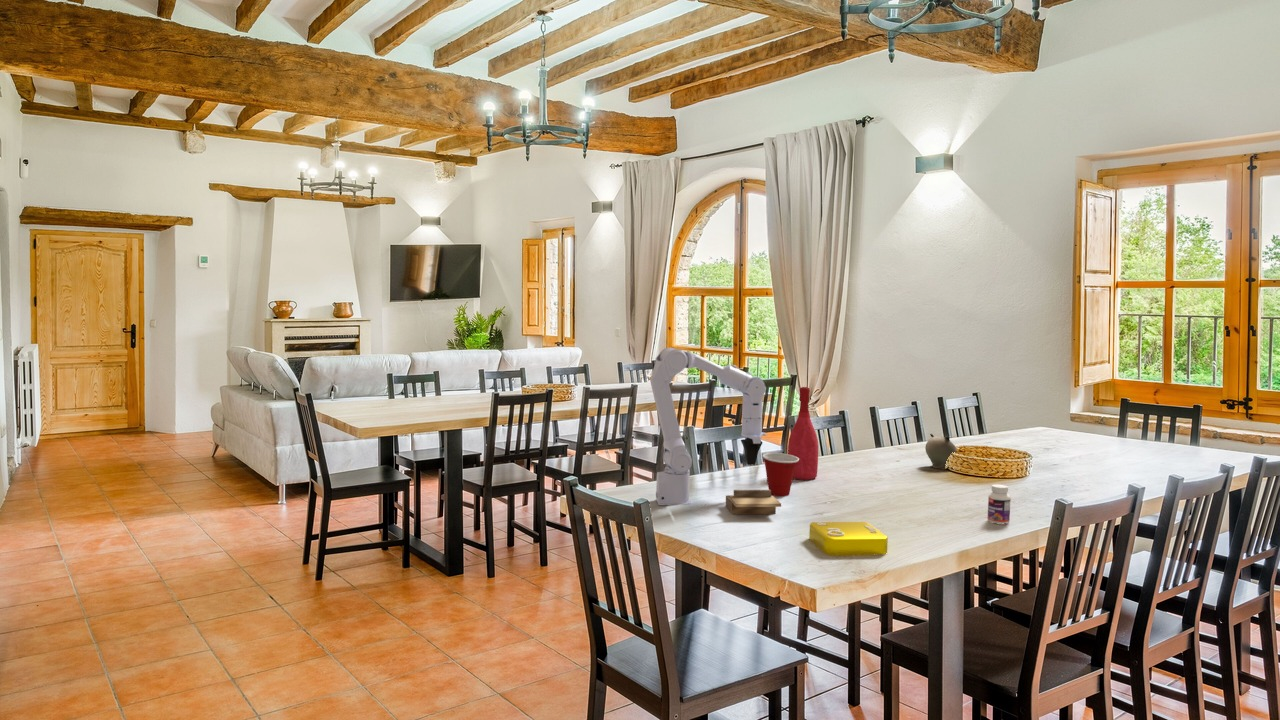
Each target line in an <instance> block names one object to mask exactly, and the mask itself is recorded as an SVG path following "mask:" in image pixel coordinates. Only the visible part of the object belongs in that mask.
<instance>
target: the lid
mask: <svg viewBox="0 0 1280 720" xmlns="http://www.w3.org/2000/svg"><path fill="white" fill-rule="evenodd" d="M733 495H734V496H730V500H731V501H732V503H733V504H734V505H735V506H736V507H776V508H781V507H782V503H781V502H780V501H779V499H777V498H776V497H775V496H773V495H771V490H769V489H733Z"/></svg>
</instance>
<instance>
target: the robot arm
mask: <svg viewBox="0 0 1280 720" xmlns="http://www.w3.org/2000/svg"><path fill="white" fill-rule="evenodd" d="M693 368H695V369H697V370H701V371H703V372H705V373H708V374H710V375H713V376H714V377H715V376H716V377H717V378H718V381H719V383H720V384H722V385H724V386H726V387H729V388H730V389H733V390H735V391H737V392H740V393H741V394H742V408H741V409H742V412H741V417H742V418H741V423H742V424H741V434H740V436H742V437H745V438H744V439H743V438H742V439H740V442H741V444H742V447H743V450H744V454H745V459H746V464H747V465H748V466H755V465H756V462H757V458H758V454H759V451H760V449H761V447H762V445H763V441H762V439H761V438H762V437H765V436H766V435H767V433H766V432H764V431H763V396H764V395H765V393H766V391H767V387H766V384H765V382H764V380H763V379H762V378H760V377H758V376H753V375H752V373H751V372H749V371H747V372H745V371H744V370H742V369H739V368H738V366H737V365H735V364H731V365H730V364H727V365H725V366H721V365H719V364H717V363H715V362H713V361H711V360H709V359H706V358H705V357H703V356H701V355H699V354H696V353H693V352H689V351H685V350H682V349H678V348H674V347H669V346H668V347H665V348H663V349H661V351H660V352H659V354H658V355H657V356H656V357H655V363H654V366H653V370H652V373H651V377H650V381H649V382H650V386H651V389H652V394H653V398H654V401H655V402H654V403H655V407H656V412H657V415H658V420H659V424H660V428H661V429H660V430H661V433H662V438H663V445H662V446H663V454H662V460H663V462H664V464H665V467H664V470H663V471H657V472H656V489H655V490H656V491H655V500H656V502H657V504H658V506H669V505H692V504H693V502H692V501H691V499H690V475H691V474H690V469H691V466H692V465H693V460H692V456H691V455H690V453H689V452H688V451H687V447H686V444H685V442H684V440H683V438H682V435H681V431H680V425H679V422H678V417H677V413H676V408H675V405H674V400H673V396H672V391H671V388H670V384H671V383H672V381H673V380H674V378H675V377H676V375H678V374H679V373H681V372H682V371H683V370H685V369H689V370H690V369H693ZM762 431H763V432H762Z"/></svg>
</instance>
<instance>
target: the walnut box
mask: <svg viewBox="0 0 1280 720" xmlns="http://www.w3.org/2000/svg"><path fill="white" fill-rule="evenodd" d="M730 496H734V494H731V495H730V494H729V495H728V494H727V495H725V507H726V509H727V510H728V511H729V513H730V514H731V515H776V514H777V512H776V511H777V510H776V509H777V507H736V506H735V505H734V504H733V503H732V501H731V500H730Z"/></svg>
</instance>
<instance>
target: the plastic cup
mask: <svg viewBox="0 0 1280 720" xmlns="http://www.w3.org/2000/svg"><path fill="white" fill-rule="evenodd" d="M762 458H763V461H764V466H765V475H766V481H767V488H768V490H771V496H774V497H775V496H776V497H787V496H789V495H790V493H791V487H792V485H793V484H792V483H793V475H794V470H795V467H796V464H797V462H798V461H799V458H797V457H795V456H793V455H788V453H781V452H768V453H764V454H762Z"/></svg>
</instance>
